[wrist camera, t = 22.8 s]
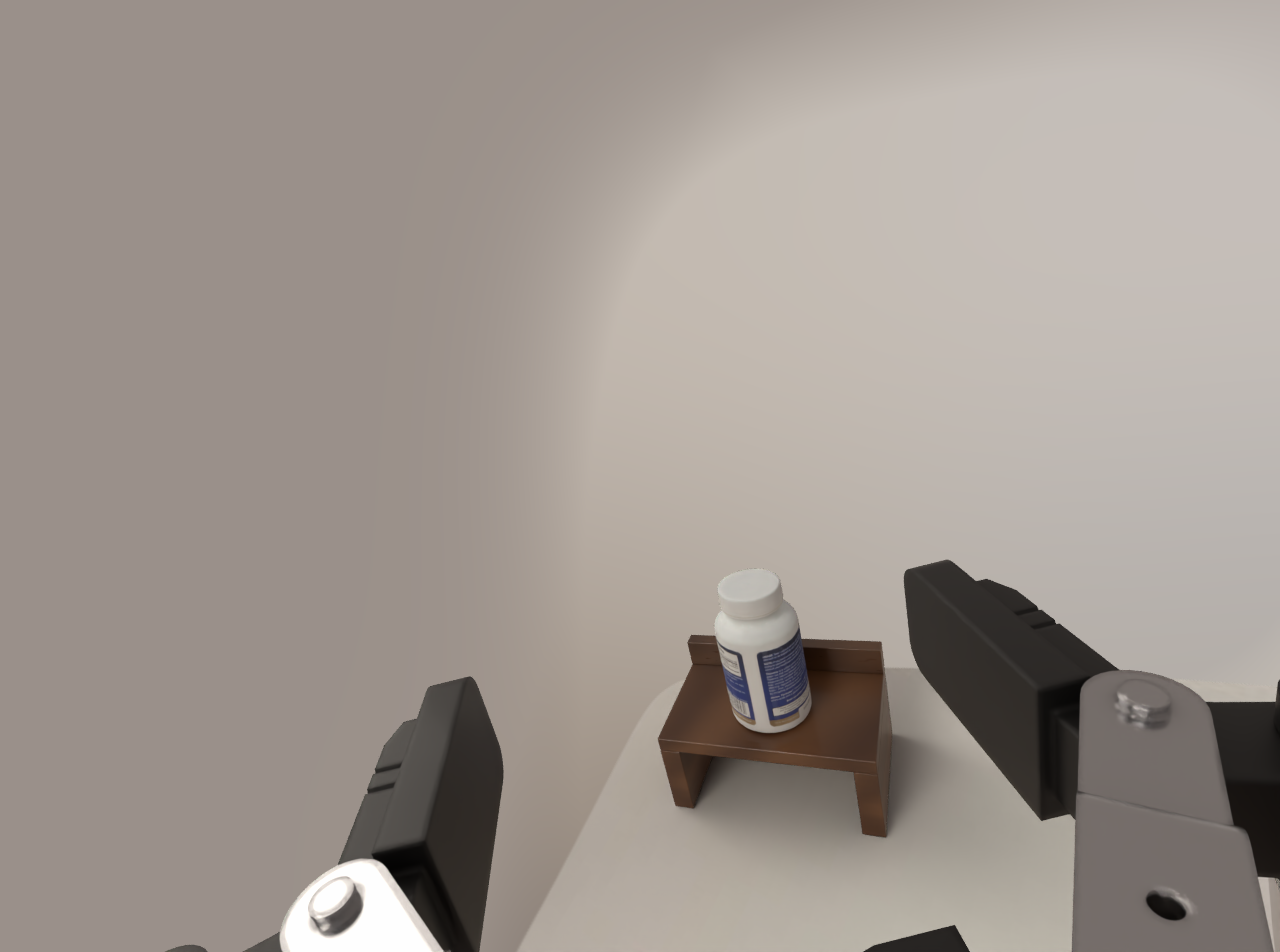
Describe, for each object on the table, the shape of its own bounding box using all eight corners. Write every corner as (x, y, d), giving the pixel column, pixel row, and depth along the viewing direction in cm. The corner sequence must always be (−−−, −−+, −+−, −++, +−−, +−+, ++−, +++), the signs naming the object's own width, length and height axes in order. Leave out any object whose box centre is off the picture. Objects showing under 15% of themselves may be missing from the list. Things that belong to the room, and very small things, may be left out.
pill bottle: (815, 682, 47) (795, 560, 43) (809, 738, 42) (787, 606, 39) (739, 681, 49) (714, 564, 45) (726, 734, 44) (697, 608, 41)
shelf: (675, 805, 47) (650, 715, 44) (710, 716, 55) (691, 634, 52) (886, 837, 41) (872, 735, 38) (892, 732, 49) (881, 641, 46)
